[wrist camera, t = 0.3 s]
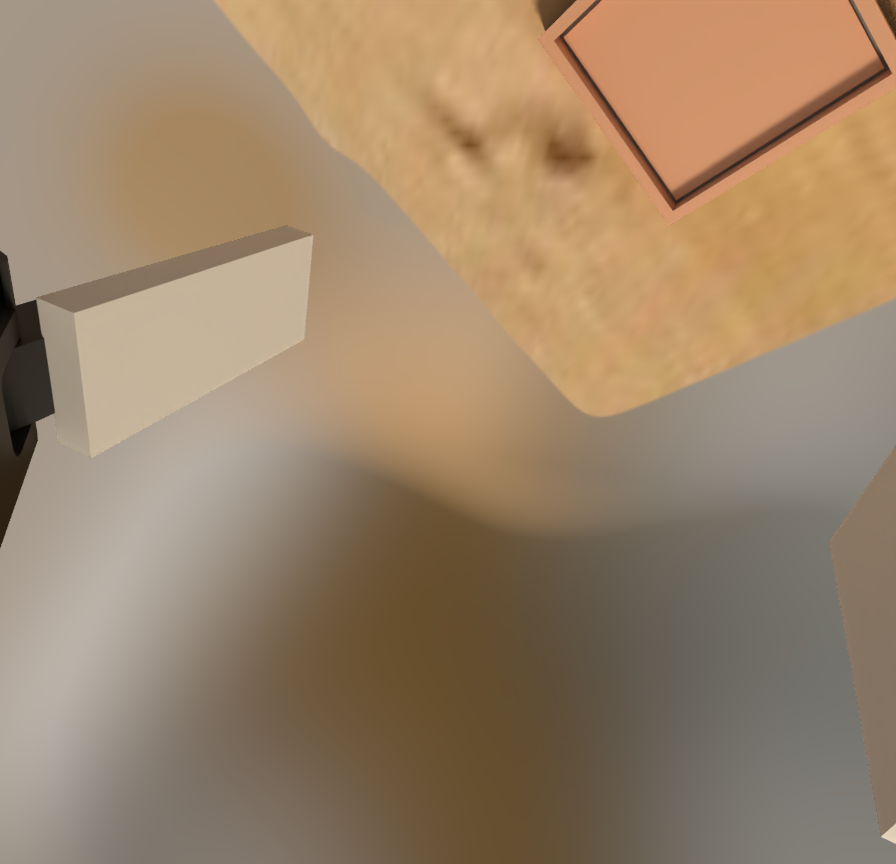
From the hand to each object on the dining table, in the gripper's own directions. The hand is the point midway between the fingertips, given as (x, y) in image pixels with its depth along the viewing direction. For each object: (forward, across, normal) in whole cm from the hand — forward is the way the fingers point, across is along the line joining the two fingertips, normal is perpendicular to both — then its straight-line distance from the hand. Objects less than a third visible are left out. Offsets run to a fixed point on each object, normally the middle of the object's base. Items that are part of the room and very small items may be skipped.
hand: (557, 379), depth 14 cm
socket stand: (+25, -1, +8) cm, 26 cm away
